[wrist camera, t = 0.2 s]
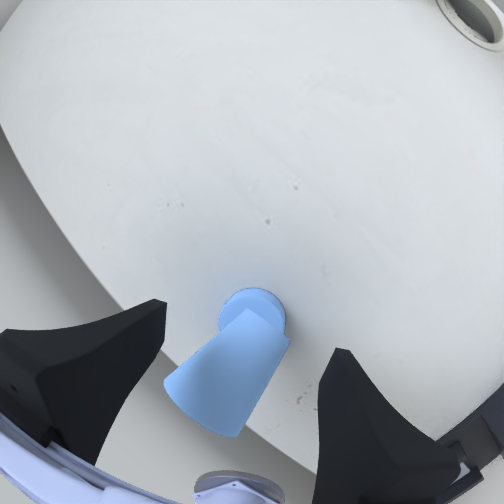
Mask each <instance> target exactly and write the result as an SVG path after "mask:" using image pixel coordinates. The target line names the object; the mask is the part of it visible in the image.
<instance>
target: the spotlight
mask: <svg viewBox="0 0 504 504" xmlns="http://www.w3.org/2000/svg"><path fill="white" fill-rule="evenodd" d="M285 320H286V317H285V311H284V308H283V306H282V304H281V302H280V301H279V300H278V299H277V298H276V297H275V296H274V295H273V294H271V293H269V292H268V291H265V290H262V289H257V288H249V289H244V290H241V291H239V292H237V293H235V294H234V295H233V296H232V297H231V298H230V299H229V300H227V301H226V303H225V306H224V308H223V309H222V311H221V313H220V316H219V323H218V325H219V331H220V332H219V333H218V334H217V335H216V336H215V337H213V338H212V339H211V340H210V341H209V342H208V343H207V344H205V345H204V346H203V347H202V348H201V349H200V350H198V351H197V352H196V353H195V354H194V355H193V356H191V357H190V358H189V359H188V360H187V361H186V362H184V363H183V364H182V365H181V366H180V367H178V368H177V369H176V370H175V371H174V372H173V373H171V374H170V375H169V376H168V377H167V378H165V379H164V387H165V389H166V391H167V393H168V395H169V396H170V397H171V399H172V400H173V401H174V403H175V404H176V405H177V406H178V407H179V408H180V409H181V410H182V411H183V412H184V413H185V414H187V415H188V416H189V417H190V418H192V419H193V420H194V421H196V422H197V423H198V424H200V425H201V426H203V427H205V428H206V429H208V430H210V431H212V432H214V433H216V434H219V435H221V436H225V437H231V438H232V437H237V436H238V435H239V433H240V431H241V430H242V428H243V426H244V425H245V423H246V421H247V420H248V418H249V416H250V414H251V413H252V411H253V409H254V408H255V406H256V404H257V402H258V401H259V399H260V397H261V395H262V393H263V392H264V390H265V388H266V386H267V384H268V383H269V381H270V379H271V377H272V375H273V373H274V372H275V370H276V368H277V366H278V364H279V362H280V360H281V358H282V357H283V355H284V353H285V351H286V349H287V347H288V345H289V343H290V339H289V338H287V337H286V336H285V335H284V329H285Z"/></svg>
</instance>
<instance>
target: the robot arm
mask: <svg viewBox="0 0 504 504" xmlns="http://www.w3.org/2000/svg"><path fill="white" fill-rule="evenodd" d="M166 310H167V303H166V302H163V301H160V300H157V299H152V300H149V301H147V302H144V303H142V304H140V305H137V306H135V307H133V308H130V309H128V310H125V311H123V312H120V313H118V314H116V315H112V316H110V317H107V318H104V319H101V320H98V321H95V322H91V323H88V324H83V325H79V326H74V327H68V328H61V329H53V330H14V329H6V330H4V331H3V332H2V333H0V473H1V474H2V475H3V476H4V477H5V478H7V479H8V480H9V481H10V482H11V483H12V484H13V485H14V486H16V487H17V488H18V489H19V490H20V491H21V492H23V493H24V494H25V495H26V496H28V497H29V498H30V499H31V500H33V501H34V502H35V503H37V504H181V503H178V502H175V501H172V500H169V499H166V498H163V497H160V496H158V495H155V494H152V493H150V492H148V491H145V490H143V489H140V488H138V487H136V486H133V485H131V484H129V483H126V482H124V481H122V480H120V479H118V478H116V477H114V476H112V475H109V474H107V473H106V472H104V471H102V470H100V469H98V468H96V467H94V466H95V463H96V461H97V458H98V456H99V453H100V451H101V448H102V446H103V444H104V442H105V439H106V437H107V435H108V432H109V430H110V428H111V426H112V424H113V422H114V420H115V418H116V416H117V414H118V413H119V411H120V409H121V407H122V405H123V403H124V402H125V399H126V398H127V397H128V395H129V393H130V392H131V391H132V389H133V388H134V386H135V385H136V384H137V382H138V381H139V380H140V378H141V377H142V376H143V374H144V373H145V372H146V370H147V369H148V367H149V366H150V365H151V363H152V362H153V361H154V359H155V357H156V355H157V354H158V352H159V350H160V348H161V346H162V344H163V342H164V339H165V324H166ZM318 424H319V460H318V469H317V477H316V484H315V490H314V495H313V500H312V504H436V498H435V496H436V495H438V494H439V493H441V492H442V491H443V490H445V489H446V488H447V487H448V486H450V485H451V484H452V483H453V482H454V481H455V480H456V479H457V478H458V477H459V475H460V473H461V466H460V463H459V460H458V457H457V454H456V452H455V451H453V450H451V449H449V448H447V447H445V446H443V445H441V444H439V443H438V442H436V441H434V440H433V439H431V438H430V437H428V436H427V435H425V434H424V433H422V432H421V431H420V430H418V429H417V428H416V427H414V426H413V425H412V424H411V423H410V422H408V421H407V420H406V419H405V418H404V417H403V416H402V415H401V414H399V413H398V411H397V410H396V409H395V408H394V407H393V406H392V405H391V404H390V403H389V402H388V401H387V400H386V399H385V398H384V396H383V395H382V394H381V393H380V392H379V390H378V389H377V388H376V386H375V385H374V384H373V383H372V381H371V380H370V378H369V377H368V376H367V374H366V373H365V371H364V370H363V369H362V367H361V366H360V364H359V363H358V361H357V360H356V359H355V357H354V356H353V354H352V353H351V352H350V350H346V349H341V348H335V351H334V353H333V355H332V357H331V359H330V361H329V363H328V365H327V367H326V370H325V372H324V374H323V376H322V378H321V380H320V382H319V390H318ZM191 496H192V497H193V498H194V499H196V501H195V504H280V503H279V502H277V501H275V500H273V499H271V498H269V497H267V496H265V495H264V494H262V493H260V492H258V491H256V490H255V489H253V488H251V487H249V486H248V485H246V484H244V483H243V482H241V481H239V480H235V481H232V482H229V483H226V484H223V485H220V486H217V487H214V488H211V489H207V490H204V491H201V492H197V493H193V494H192V495H191Z"/></svg>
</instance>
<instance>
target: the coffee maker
mask: <svg viewBox="0 0 504 504" xmlns="http://www.w3.org/2000/svg"><path fill="white" fill-rule="evenodd" d="M436 442H438V443H439V444H441V445H443V446H445V447H447V448H449V449H451V450H453V451H455V452H456V454H457V457H458V460H459V463H460V466H461V473H460V475H459V477H458V478H457V479H456V480H455V481H454V482H453V483H452V484H451V485H450V486H448V487H447V488H446V489H445V490H443V491H442V492H441V493H439V494H438V495H436V496H435V498H436V504H448V503H450V502H451V501H453V500H455V499H456V498H458V497H459V496H461V495H462V494H464V493H465V492H467V491H468V490H470V489H471V488H473V487H474V486H475V485H477V484H478V483H479V482H481V481H482V480H484V478H483V476H482V474H481V472H480V470H481V469H482V468H483V467H485V466H486V465H487V464H489V463H490V462H491V461H492V460H493V459H495V458H496V457H497V456H498V455H499V454H501V455H502V457H503V459H504V384H503V385H502V386H501V387H500V388H499V389H498V390H497V391H496V392H495V393H494V394H493V395H492V396H491V397H489V398H488V399H487V400H486V401H485V402H484V403H483V404H482V405H481V406H480V407H479V408H477V409H476V410H475V411H474V412H473V413H472V414H471V415H469V416H468V417H467V418H466V419H465V420H463V421H462V422H461V423H460V424H459V425H457V426H456V427H455V428H453V429H452V430H451V431H450V432H448V433H447V434H446V435H444V436H443V437H442V438H440V439H439V440H437V441H436Z"/></svg>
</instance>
